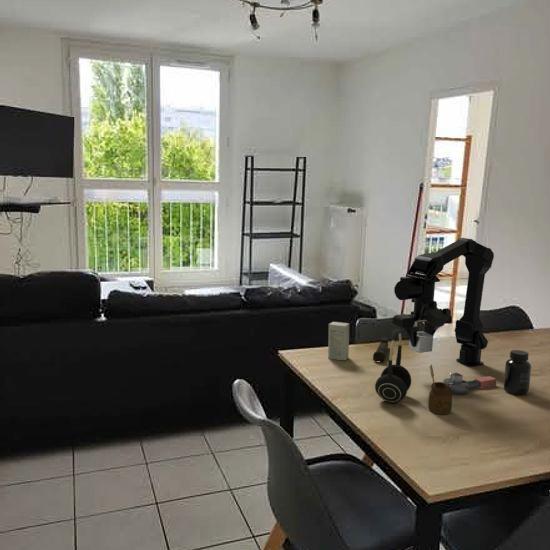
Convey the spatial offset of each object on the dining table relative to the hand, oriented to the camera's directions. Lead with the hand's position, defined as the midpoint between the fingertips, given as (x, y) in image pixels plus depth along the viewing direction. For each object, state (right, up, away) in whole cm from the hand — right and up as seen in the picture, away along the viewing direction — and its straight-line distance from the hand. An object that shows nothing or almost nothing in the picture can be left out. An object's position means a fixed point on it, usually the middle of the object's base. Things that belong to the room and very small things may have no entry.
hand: (420, 345), depth 162 cm
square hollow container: (0, -1, 0) cm, 1 cm away
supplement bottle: (+26, -12, -8) cm, 30 cm away
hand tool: (-8, -6, +23) cm, 25 cm away
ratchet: (+13, -12, -6) cm, 18 cm away
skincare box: (-24, -7, +17) cm, 30 cm away
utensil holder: (-1, -14, -22) cm, 27 cm away
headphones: (-12, -13, -15) cm, 23 cm away
